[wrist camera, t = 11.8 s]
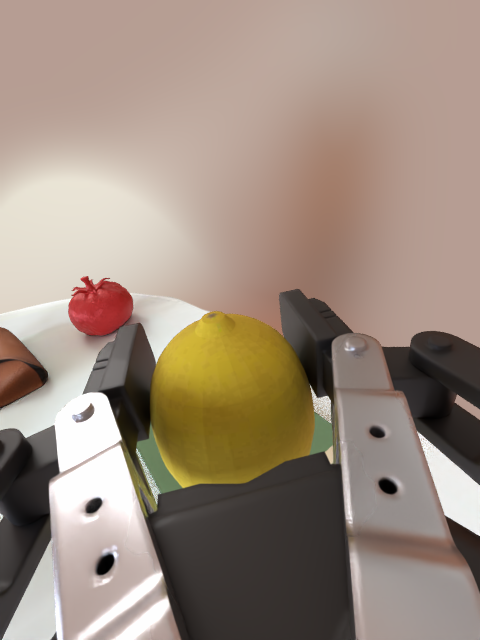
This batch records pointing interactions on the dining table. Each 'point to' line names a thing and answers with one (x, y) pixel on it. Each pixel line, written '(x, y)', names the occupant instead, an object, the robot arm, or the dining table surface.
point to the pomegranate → (100, 307)
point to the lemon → (229, 401)
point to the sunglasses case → (17, 369)
